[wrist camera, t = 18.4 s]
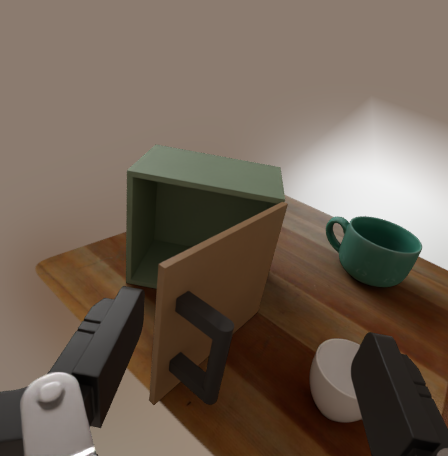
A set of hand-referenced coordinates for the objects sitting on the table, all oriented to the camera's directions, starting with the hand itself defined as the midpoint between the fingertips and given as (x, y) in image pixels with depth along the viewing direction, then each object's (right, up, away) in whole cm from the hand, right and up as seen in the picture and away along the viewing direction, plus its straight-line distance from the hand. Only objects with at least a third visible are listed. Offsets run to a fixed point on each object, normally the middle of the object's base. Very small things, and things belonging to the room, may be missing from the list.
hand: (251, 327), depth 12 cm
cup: (+13, -18, +26) cm, 34 cm away
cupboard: (-5, -4, +45) cm, 45 cm away
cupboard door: (0, -13, +30) cm, 32 cm away
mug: (+25, -5, +53) cm, 59 cm away
